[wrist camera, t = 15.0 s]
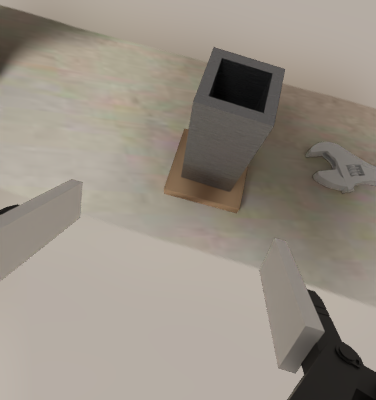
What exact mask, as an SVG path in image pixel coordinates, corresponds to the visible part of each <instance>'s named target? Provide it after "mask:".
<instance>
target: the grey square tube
mask: <svg viewBox="0 0 376 400" xmlns="http://www.w3.org/2000/svg"><path fill="white" fill-rule="evenodd" d="M284 72H285V69H283V68H280V67H277V66H273V65H270V64H267V63H263V62H260V61H257V60H254V59H251V58H247V57H244V56H241V55H238V54H234V53H231V52H228V51H224V50H221V49H218V48H215V47H214V48H213V51H212V54H211V56H210V59H209V62H208V64H207V67H206V69H205V72H204V75H203V77H202V80H201V83H200V85H199V88H198V90H197V93H196V96H195V98H194V101H193V107H192V113H191V119H190V125H189V131H188V137H187V143H186V149H185V155H184V162H183V168H182V174H181V177H183V178H186V179H189V180H193V181H196V182H199V183H202V184H205V185H208V186H212V187H215V188H218V189H221V190H224V191H227V192H230V191H231V189H232V188H233V187H234V185H235V184H236V182H237V181H238V179H239V178H240V176H241V175H242V173H243V172H244V170H245V169H246V167H247V166H248V164H249V163H250V161H251V160H252V158H253V157H254V155H255V154H256V152H257V151H258V149H259V148H260V146H261V145H262V143H263V142H264V140H265V139H266V137H267V136H268V134H269V133H270V131H271V130H272V128H273V127H274V123H275V118H276V113H277V108H278V103H279V98H280V93H281V87H282V82H283V77H284Z"/></svg>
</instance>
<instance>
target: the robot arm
mask: <svg viewBox="0 0 376 400" xmlns="http://www.w3.org/2000/svg"><path fill="white" fill-rule="evenodd" d="M81 197H82V182H80V181H76V180H73V179H71V180H69V181H67V182H65V183H63V184H61V185H59V186H57V187H55V188H53V189H51V190H49V191H47V192H45V193H43V194H41V195H39V196H37V197H35V198H33V199H31V200H29V201H27V202H26V203H24V204H21V205H13V206H9V207H6V208H3V209H1V210H0V281H1V280H3V279H4V278H5V277H6V276H8V275H9V274H10V273H11V272H12V271H14V270H15V269H16V268H18V267H19V266H20V265H21V264H22V263H24V262H25V261H26V260H28V259H29V258H30V257H31V256H33V255H34V254H35V253H36V252H38V251H39V250H40V249H41V248H43V247H44V246H45V245H46V244H48V243H49V242H50V241H51V240H53V239H54V238H55V237H57V236H58V235H59V234H60V233H62V232H63V231H64V230H65V229H67V228H68V227H69V226H70V225H72V224H73V223H74V222H75V221H76V220H78V219H79V218H80V213H81ZM259 271H260V276H261V281H262V286H263V292H264V296H265V302H266V307H267V312H268V317H269V322H270V328H271V333H272V338H273V343H274V348H275V353H276V359H277V364H278V368H279V369H282V370H286V371H289V372H292V373H296V372H297V371H298V369H299V368H300V366H301V365H302V368H303V372H304V376H303V378H302V379H301V380H300V382H299V383H298V384H297V386H296V387H295V389H294V390H293V392H292V394H291V395H290V396H289V398H288V399H287V400H376V372H374V371H373V370H371V369H369V368H367V367H366V366H364V365H363V362H362V360H361V358H360V357H359V355H358V354H357V353H356V352H355V351H354V350H353V349H352V348H351V347H350V346H348V345H347V344H345V343H344V342H342V341H341V339H340V336H339V334H338V332H337V331H336V328H335V326H334V324H333V322H332V320H331V318H330V317H329V313H328V311H327V310H326V307H325V305H324V303H323V301H322V299H320V297H319V296H318V295H317V294H316V292H315V291H311V290H308V289H307V288H306V286H305V284H304V281H303V279H302V277H301V274H300V272H299V270H298V267H297V265H296V263H295V260H294V258H293V256H292V253H291V251H290V249H289V246H288V244H287V241H285V240H281V239H278V238H274V240H273V242H272V244H271V246H270V249H269V251H268V253H267V255H266V257H265V259H264V262H263V264H262V266H261V268H260V270H259Z"/></svg>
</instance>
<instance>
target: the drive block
mask: <svg viewBox="0 0 376 400" xmlns="http://www.w3.org/2000/svg"><path fill="white" fill-rule="evenodd" d="M188 131H189V129H184V132H183V135H182V137H181V140H180V143H179V146H178V149H177V152H176V155H175V158H174V161H173V164H172V167H171V170H170V173H169V176H168V179H167V181H166V184H165V187H164V194H168V195H171V196H175V197H179V198H183V199H186V200H190V201H194V202H197V203H201V204H205V205H208V206H212V207H216V208H219V209H223V210H227V211H231V212H234V213H237V212H238V210H239V209H240V204H241V199H242V194H243V189H244V184H245V179H246V174H247V169H248V166H247V167H246V169H245V170H244V172H243V173H242V175H241V176H240V178H239V179H238V181H237V182H236V184H235V185H234V187H233V188H232V189H231V191H230V192H227V191H224V190H221V189H218V188H215V187H212V186H208V185H205V184H202V183H199V182H196V181H193V180H189V179H186V178H183V177H181V174H182V168H183V162H184V155H185V149H186V143H187V137H188Z"/></svg>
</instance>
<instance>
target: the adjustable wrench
mask: <svg viewBox="0 0 376 400" xmlns="http://www.w3.org/2000/svg"><path fill="white" fill-rule="evenodd" d="M305 156H306V157H315V156H322V157H324V158H325V159H326V160H327V161H328V162H329V163H330V164H331V167H332V169H333V170H324V171H317V172H316V173H315V174H314V175H313V179H314V180H316V181H317V182H318V183H320V184H321V185H323V186H325V187H328V188H331V189H335V190H341V191H342V194H343V193H346V192H352V191H354V190H355V189H354V186H356V185H361V184H368V185H373V186H376V166H373V165H371V164H369V163H367V162H365V161H363V160H362V159H360V158H358V157H356V156H355V155H353V154H352V153H350V152H349V151H347V150H346V149H345V148H343V147H342V146H340V145H338V144H336V143H333V142H319V143H317V144H315V145H314V146H313V147H312V148H311V149H310V150H309V151H308V152H307V153H306V155H305Z"/></svg>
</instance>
